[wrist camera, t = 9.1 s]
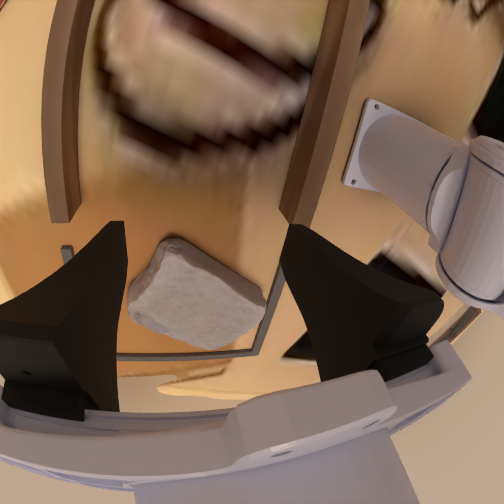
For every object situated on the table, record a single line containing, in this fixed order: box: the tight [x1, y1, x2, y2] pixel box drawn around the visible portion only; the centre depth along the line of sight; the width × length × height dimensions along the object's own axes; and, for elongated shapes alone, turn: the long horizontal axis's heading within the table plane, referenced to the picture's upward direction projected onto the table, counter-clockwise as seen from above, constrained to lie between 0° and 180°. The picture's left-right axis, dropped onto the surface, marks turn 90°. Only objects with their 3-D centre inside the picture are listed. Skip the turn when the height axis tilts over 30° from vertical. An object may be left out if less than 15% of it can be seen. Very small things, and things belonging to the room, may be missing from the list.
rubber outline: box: [61, 246, 285, 361], centre depth 27 cm, size 21×17×1 cm
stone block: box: [127, 238, 267, 350], centre depth 25 cm, size 12×5×10 cm
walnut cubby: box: [41, 0, 370, 228], centre depth 13 cm, size 19×20×3 cm
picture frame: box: [426, 304, 481, 348], centre depth 57 cm, size 16×2×22 cm
